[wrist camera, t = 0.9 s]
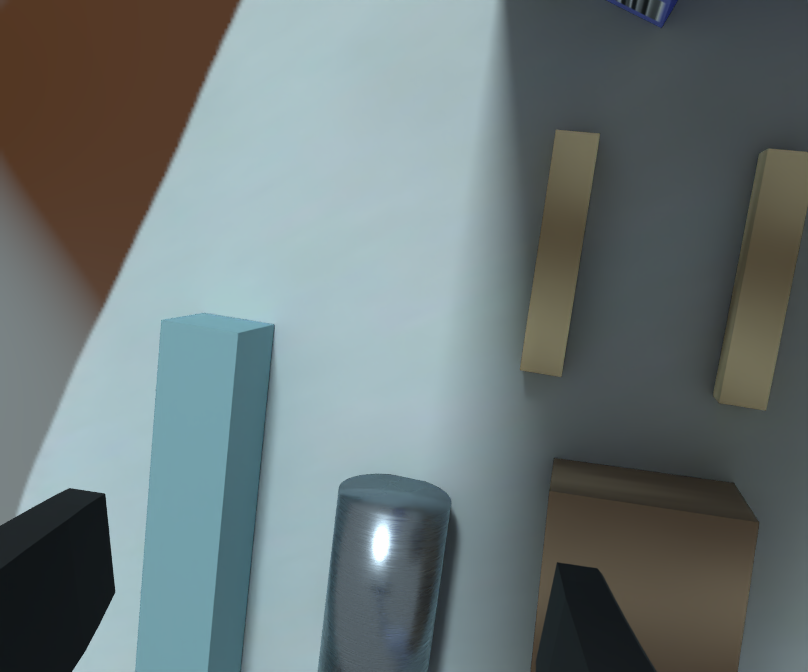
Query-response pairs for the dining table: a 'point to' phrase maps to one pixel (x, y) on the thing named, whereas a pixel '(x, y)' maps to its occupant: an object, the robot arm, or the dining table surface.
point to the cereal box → (648, 9)
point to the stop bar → (202, 492)
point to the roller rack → (754, 283)
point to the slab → (657, 557)
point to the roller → (384, 575)
